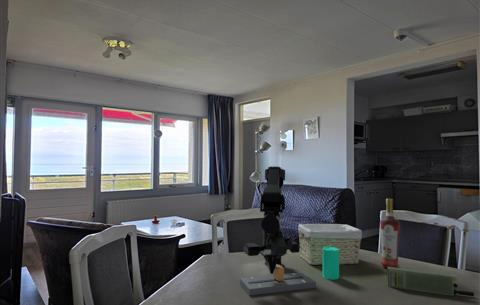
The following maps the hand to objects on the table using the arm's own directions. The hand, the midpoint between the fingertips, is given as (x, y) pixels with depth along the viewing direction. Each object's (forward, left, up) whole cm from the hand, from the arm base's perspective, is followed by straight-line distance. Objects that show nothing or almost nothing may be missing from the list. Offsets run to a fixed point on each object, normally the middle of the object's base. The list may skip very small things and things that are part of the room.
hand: (271, 273), depth 109 cm
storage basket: (-21, +36, -5) cm, 42 cm away
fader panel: (0, +2, -4) cm, 5 cm away
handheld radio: (+18, +49, -5) cm, 53 cm away
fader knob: (0, +3, -2) cm, 3 cm away
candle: (-3, +25, -5) cm, 26 cm away
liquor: (-6, +55, -5) cm, 56 cm away
